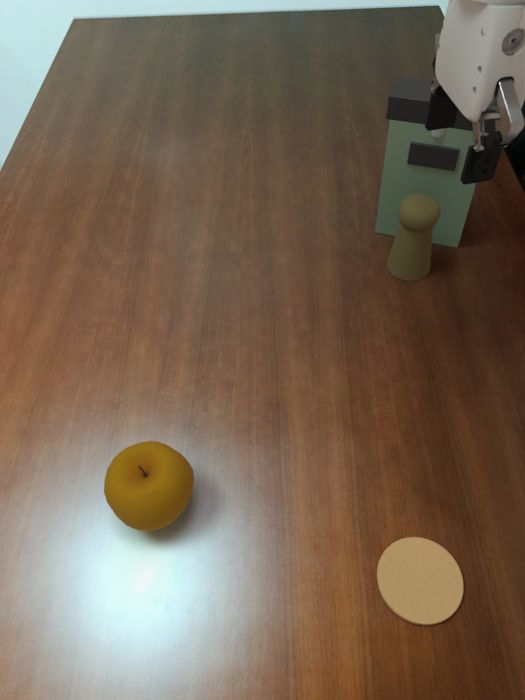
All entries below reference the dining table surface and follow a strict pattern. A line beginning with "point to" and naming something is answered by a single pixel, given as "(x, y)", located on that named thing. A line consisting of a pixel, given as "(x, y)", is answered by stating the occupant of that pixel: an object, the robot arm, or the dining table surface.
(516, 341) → the dining table surface
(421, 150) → the green box with lid
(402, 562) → the cork mat
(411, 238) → the pepper shaker
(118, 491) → the apple
